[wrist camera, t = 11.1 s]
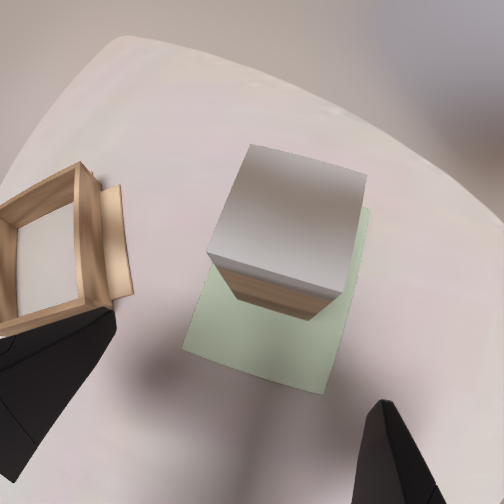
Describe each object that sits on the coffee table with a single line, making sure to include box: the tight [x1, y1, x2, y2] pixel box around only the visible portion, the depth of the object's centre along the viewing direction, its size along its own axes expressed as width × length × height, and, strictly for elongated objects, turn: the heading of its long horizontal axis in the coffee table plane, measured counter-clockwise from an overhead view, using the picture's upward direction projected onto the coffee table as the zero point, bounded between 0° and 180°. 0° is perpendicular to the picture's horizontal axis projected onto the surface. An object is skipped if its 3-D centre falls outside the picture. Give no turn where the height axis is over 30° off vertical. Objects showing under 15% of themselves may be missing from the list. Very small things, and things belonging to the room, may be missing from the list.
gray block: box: [206, 144, 367, 321], centre depth 16 cm, size 5×5×10 cm
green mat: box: [181, 207, 370, 395], centre depth 21 cm, size 14×10×1 cm
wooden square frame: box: [0, 161, 133, 337], centre depth 20 cm, size 16×16×4 cm
